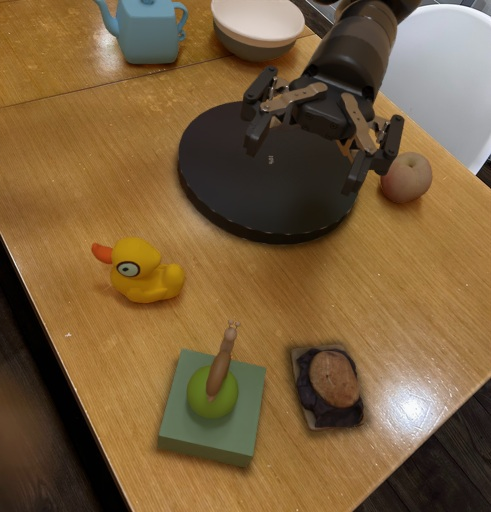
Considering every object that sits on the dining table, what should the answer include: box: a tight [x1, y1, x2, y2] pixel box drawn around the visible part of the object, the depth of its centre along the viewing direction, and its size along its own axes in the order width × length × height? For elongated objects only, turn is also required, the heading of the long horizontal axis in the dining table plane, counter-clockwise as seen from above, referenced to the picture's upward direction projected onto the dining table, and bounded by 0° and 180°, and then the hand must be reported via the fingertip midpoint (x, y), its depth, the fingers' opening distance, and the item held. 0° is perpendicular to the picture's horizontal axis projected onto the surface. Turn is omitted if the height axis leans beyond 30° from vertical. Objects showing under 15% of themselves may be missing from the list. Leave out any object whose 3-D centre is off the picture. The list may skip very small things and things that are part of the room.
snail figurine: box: [186, 318, 241, 419], centre depth 49 cm, size 5×6×12 cm
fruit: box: [379, 151, 434, 204], centre depth 82 cm, size 8×8×8 cm
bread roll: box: [290, 343, 366, 433], centre depth 61 cm, size 11×8×4 cm
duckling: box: [90, 236, 186, 304], centre depth 62 cm, size 11×5×10 cm, turn 86°
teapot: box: [92, 0, 189, 65], centre depth 92 cm, size 12×18×12 cm
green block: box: [156, 347, 267, 469], centre depth 56 cm, size 10×10×5 cm
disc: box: [176, 100, 360, 246], centre depth 81 cm, size 30×30×3 cm
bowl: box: [210, 0, 306, 63], centre depth 100 cm, size 19×19×8 cm
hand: (299, 168), depth 41 cm, fingers open, 8 cm apart
